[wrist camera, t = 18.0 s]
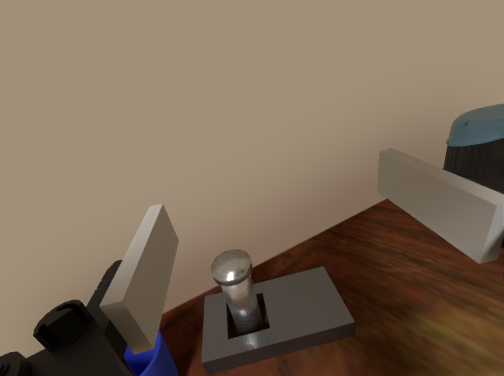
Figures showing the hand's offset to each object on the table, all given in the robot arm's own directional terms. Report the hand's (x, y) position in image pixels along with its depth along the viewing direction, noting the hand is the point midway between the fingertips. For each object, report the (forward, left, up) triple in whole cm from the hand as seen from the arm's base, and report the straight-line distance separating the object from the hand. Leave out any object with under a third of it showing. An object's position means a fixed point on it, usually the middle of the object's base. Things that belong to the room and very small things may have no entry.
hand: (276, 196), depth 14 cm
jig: (+2, -13, -30) cm, 33 cm away
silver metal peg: (+6, -13, -30) cm, 33 cm away
